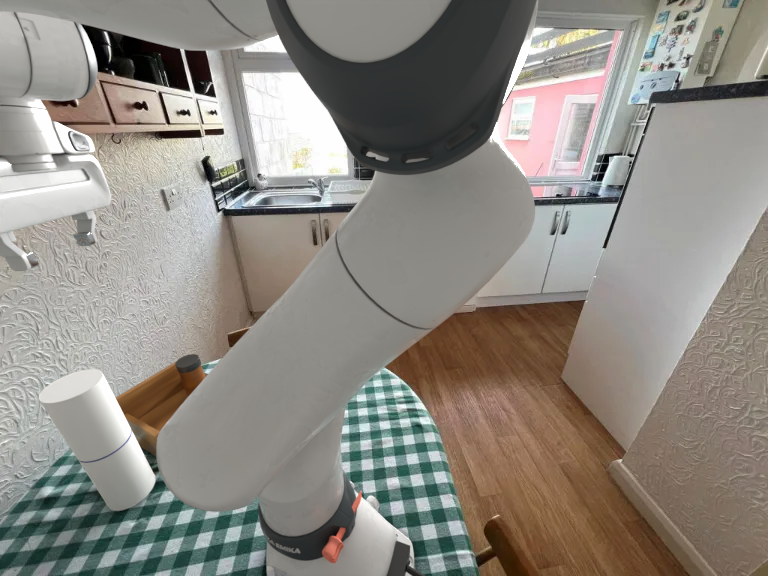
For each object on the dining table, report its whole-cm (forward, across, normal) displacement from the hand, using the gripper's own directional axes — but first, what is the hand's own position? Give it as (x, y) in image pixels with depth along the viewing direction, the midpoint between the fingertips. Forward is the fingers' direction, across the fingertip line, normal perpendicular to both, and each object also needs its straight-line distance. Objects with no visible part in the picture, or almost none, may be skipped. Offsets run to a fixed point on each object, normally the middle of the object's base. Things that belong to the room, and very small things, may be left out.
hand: (61, 255), depth 41 cm
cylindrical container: (+44, -2, +5) cm, 45 cm away
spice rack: (+44, +12, +2) cm, 46 cm away
